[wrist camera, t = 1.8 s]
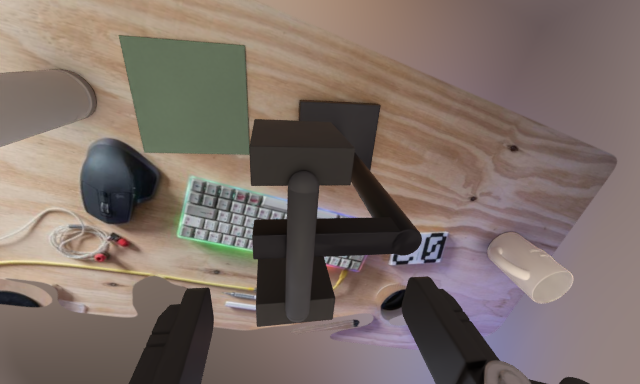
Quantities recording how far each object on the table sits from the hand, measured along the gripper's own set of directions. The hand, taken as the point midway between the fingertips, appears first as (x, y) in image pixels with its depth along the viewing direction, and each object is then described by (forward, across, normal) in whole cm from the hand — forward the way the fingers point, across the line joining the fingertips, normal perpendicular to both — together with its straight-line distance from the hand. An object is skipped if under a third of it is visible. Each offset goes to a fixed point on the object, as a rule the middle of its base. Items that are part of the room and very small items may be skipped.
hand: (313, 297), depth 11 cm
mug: (+34, -46, +25) cm, 63 cm away
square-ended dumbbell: (+14, 0, +3) cm, 14 cm away
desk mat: (+34, +13, -2) cm, 37 cm away
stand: (+34, -5, +3) cm, 35 cm away
